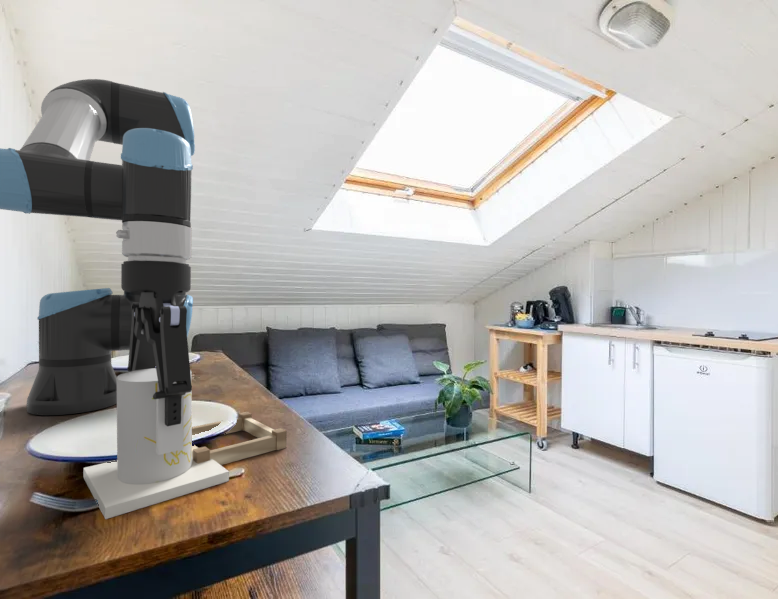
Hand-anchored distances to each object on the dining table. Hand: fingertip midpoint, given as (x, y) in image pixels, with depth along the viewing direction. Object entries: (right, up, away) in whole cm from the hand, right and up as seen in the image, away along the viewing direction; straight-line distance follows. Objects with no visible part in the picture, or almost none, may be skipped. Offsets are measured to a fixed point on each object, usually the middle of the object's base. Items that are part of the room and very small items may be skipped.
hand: (156, 438), depth 52 cm
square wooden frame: (+4, -5, +11) cm, 13 cm away
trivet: (0, -5, 0) cm, 5 cm away
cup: (0, -4, 0) cm, 4 cm away
